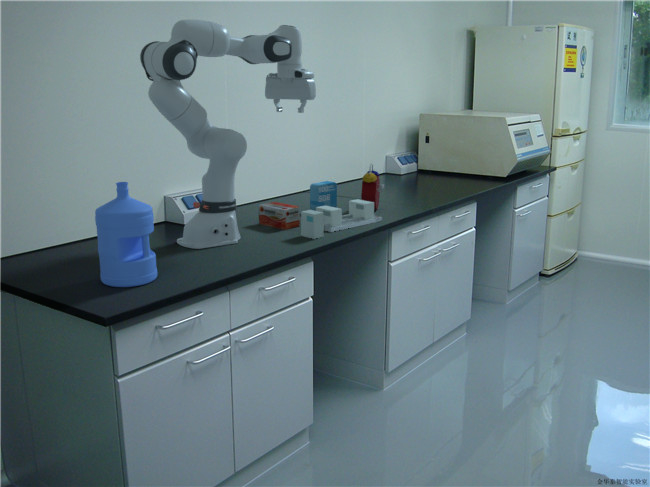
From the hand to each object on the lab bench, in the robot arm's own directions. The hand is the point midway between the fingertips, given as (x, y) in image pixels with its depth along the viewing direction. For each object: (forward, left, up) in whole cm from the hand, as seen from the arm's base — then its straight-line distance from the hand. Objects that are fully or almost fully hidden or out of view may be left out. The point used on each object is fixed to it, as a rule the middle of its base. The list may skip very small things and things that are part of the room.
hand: (290, 112), depth 240 cm
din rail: (+19, -10, -43) cm, 48 cm away
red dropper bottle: (+46, 0, -43) cm, 63 cm away
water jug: (-76, -17, -43) cm, 89 cm away
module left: (+10, -10, -42) cm, 44 cm away
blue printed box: (+30, +14, -43) cm, 55 cm away
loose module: (-4, -16, -43) cm, 46 cm away
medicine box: (-1, +6, -44) cm, 44 cm away
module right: (+28, -10, -42) cm, 51 cm away
